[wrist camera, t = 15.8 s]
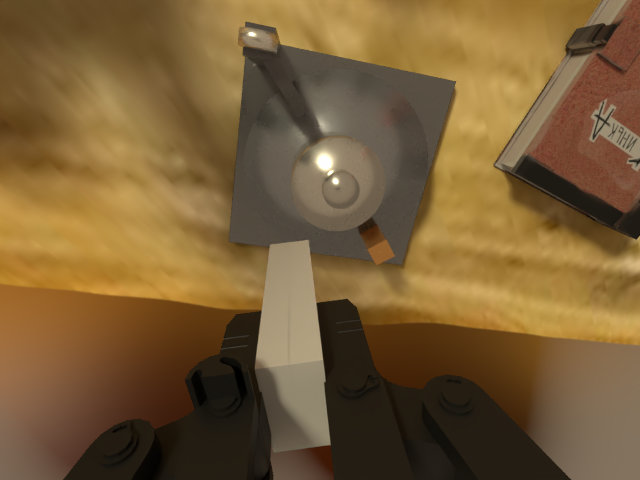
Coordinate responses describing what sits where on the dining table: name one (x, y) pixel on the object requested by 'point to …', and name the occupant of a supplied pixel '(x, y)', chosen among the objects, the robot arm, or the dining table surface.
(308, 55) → the base plate
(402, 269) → the dining table surface
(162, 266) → the dining table surface
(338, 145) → the cover
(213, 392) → the robot arm
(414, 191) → the turntable
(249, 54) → the stand
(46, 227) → the dining table surface
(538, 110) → the book
